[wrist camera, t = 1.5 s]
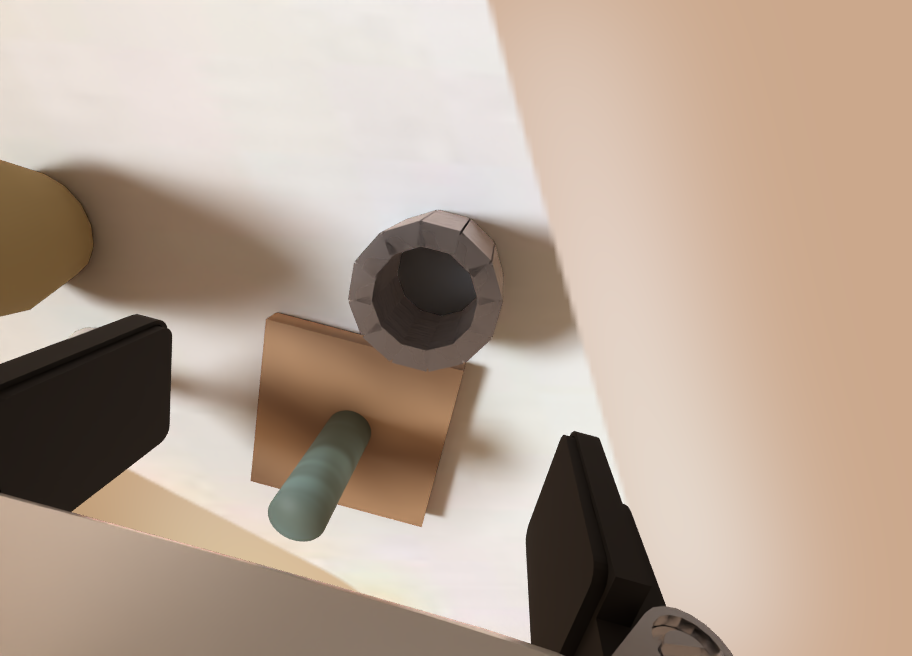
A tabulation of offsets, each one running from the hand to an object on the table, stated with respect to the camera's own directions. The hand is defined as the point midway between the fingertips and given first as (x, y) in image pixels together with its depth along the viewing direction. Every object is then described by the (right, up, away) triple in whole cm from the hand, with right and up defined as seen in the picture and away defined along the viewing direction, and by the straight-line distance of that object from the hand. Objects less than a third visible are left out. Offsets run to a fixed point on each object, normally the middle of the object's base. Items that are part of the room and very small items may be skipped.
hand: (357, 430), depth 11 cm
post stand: (-4, -3, +17) cm, 18 cm away
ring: (+1, +5, +13) cm, 14 cm away
